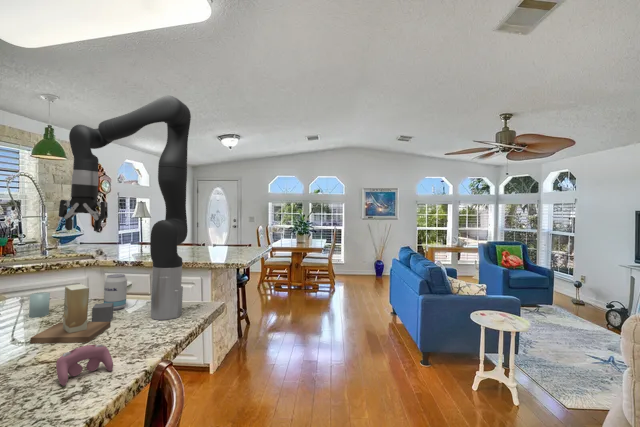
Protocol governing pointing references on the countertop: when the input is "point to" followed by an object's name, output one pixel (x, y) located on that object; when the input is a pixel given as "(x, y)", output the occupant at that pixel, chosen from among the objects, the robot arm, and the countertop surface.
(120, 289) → the beverage can
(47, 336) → the wooden board
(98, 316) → the rubber block
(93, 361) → the video game controller
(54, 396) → the countertop surface
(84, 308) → the skincare box
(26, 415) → the countertop surface
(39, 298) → the grey-green rounded block
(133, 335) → the countertop surface
